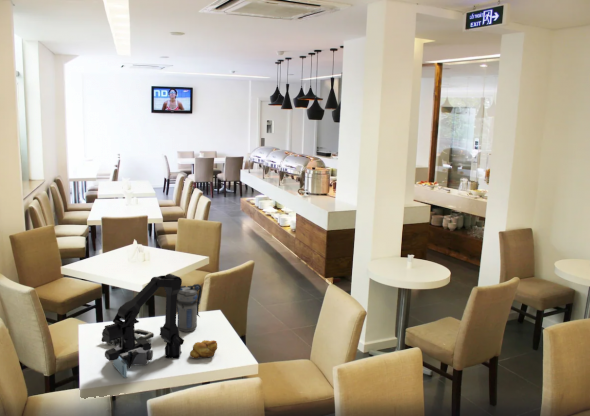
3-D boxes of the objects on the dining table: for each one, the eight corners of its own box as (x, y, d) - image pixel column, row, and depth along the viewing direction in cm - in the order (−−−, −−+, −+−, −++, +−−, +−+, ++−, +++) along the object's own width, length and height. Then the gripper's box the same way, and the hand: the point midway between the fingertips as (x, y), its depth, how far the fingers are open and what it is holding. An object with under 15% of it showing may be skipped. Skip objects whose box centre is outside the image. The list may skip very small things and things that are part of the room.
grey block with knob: (153, 358, 234) (153, 344, 232) (149, 365, 227) (149, 351, 226) (118, 356, 233) (117, 343, 232) (112, 364, 226) (112, 350, 225)
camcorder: (136, 352, 239) (136, 342, 238) (100, 345, 244) (100, 335, 243) (155, 339, 254) (155, 329, 254) (120, 332, 260) (120, 323, 259)
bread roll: (191, 362, 232) (192, 346, 230) (186, 353, 240) (187, 337, 239) (218, 357, 237) (219, 341, 236) (212, 349, 246) (213, 333, 244)
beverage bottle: (203, 330, 266) (203, 285, 262) (178, 334, 260) (178, 288, 256) (198, 323, 275) (199, 279, 271) (174, 326, 269) (174, 282, 265)
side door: (126, 376, 215) (126, 363, 214) (122, 378, 214) (122, 365, 213) (115, 363, 226) (114, 350, 225) (111, 364, 225) (111, 351, 224)
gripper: (140, 322, 228) (141, 354, 230) (99, 333, 215) (100, 367, 218) (151, 331, 219) (152, 364, 222) (109, 343, 207) (110, 377, 210)
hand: (129, 367), depth 218 cm, fingers closed
